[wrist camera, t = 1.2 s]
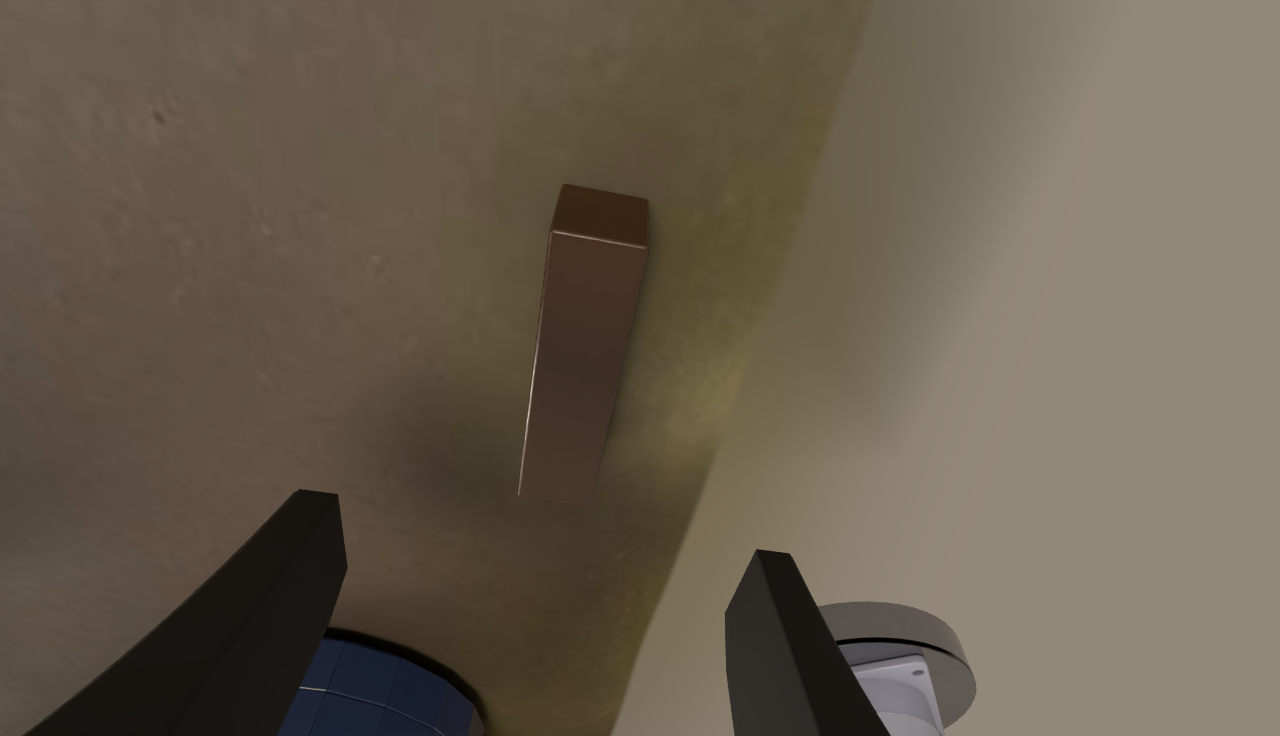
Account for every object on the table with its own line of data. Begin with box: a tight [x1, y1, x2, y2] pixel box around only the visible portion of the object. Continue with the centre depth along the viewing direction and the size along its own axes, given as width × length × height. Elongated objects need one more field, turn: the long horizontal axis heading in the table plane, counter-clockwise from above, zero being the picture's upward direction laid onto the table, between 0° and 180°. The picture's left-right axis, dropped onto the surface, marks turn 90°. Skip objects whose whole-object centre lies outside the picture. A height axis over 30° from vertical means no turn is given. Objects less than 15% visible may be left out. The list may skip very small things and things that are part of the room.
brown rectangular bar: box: [518, 184, 649, 506], centre depth 16 cm, size 8×2×2 cm, turn 169°
